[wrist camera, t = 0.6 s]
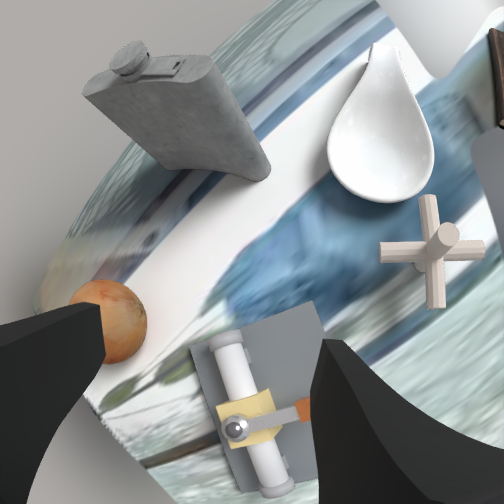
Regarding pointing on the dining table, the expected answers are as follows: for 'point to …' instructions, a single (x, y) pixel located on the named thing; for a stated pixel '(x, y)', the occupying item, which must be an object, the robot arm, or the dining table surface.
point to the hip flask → (178, 112)
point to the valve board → (285, 379)
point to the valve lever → (264, 420)
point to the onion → (116, 317)
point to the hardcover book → (498, 70)
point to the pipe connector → (432, 251)
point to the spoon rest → (381, 134)
